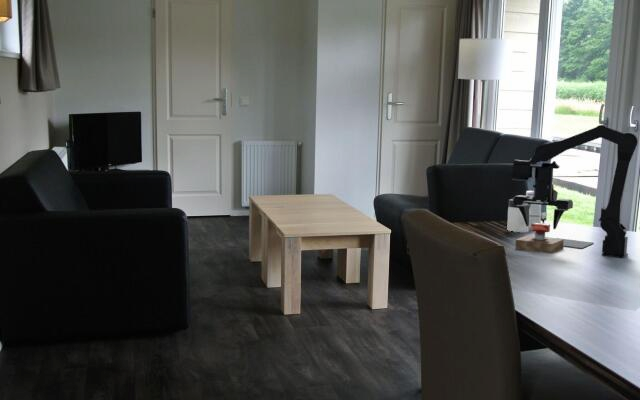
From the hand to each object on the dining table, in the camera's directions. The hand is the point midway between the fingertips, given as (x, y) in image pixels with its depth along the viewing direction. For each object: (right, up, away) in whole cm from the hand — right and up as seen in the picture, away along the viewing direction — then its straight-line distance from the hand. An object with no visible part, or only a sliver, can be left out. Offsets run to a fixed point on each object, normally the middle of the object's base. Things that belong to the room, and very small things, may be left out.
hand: (540, 227), depth 232 cm
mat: (+13, -6, +10) cm, 17 cm away
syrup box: (+11, -2, +44) cm, 45 cm away
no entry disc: (0, -7, +1) cm, 7 cm away
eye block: (0, -7, +1) cm, 7 cm away
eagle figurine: (+15, -1, +55) cm, 57 cm away
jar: (+2, -3, +35) cm, 35 cm away
